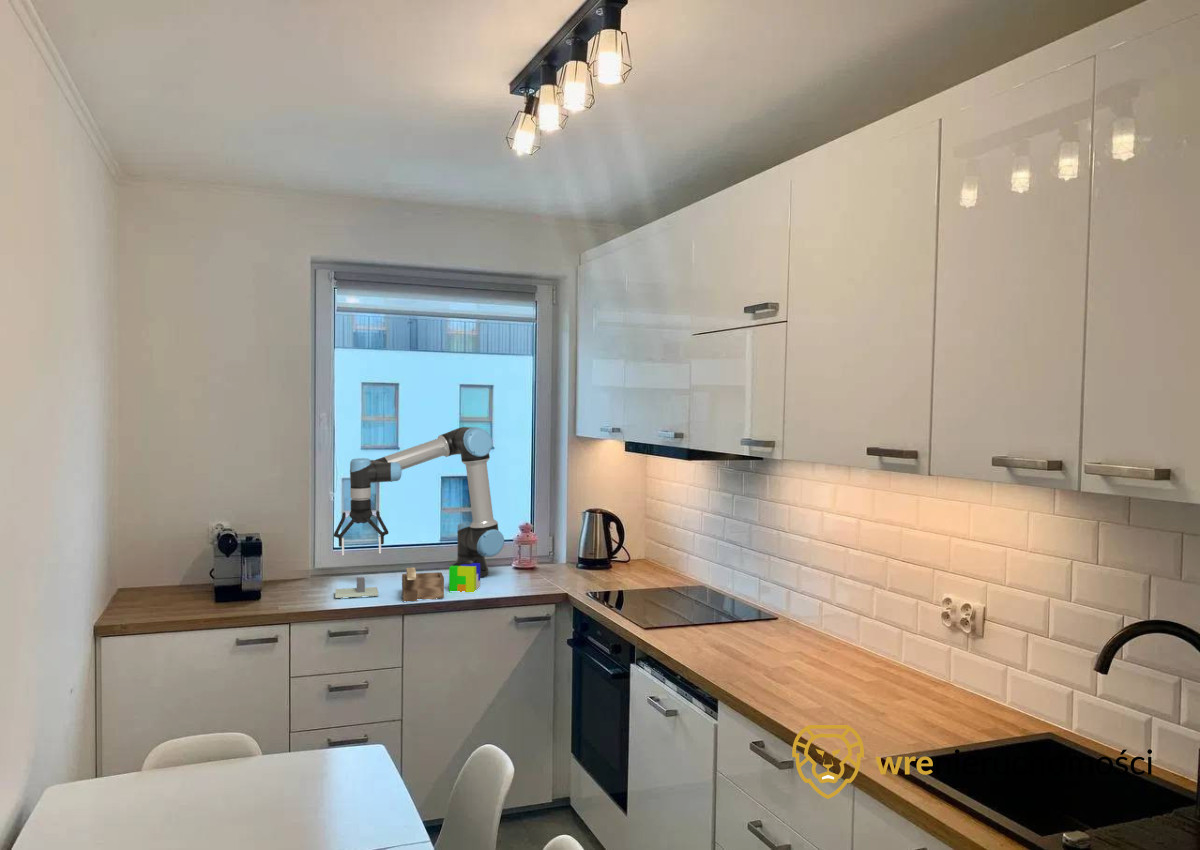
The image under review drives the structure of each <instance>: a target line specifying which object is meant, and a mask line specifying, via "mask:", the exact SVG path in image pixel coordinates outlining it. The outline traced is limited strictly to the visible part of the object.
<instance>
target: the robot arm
mask: <svg viewBox="0 0 1200 850" xmlns="http://www.w3.org/2000/svg"><path fill="white" fill-rule="evenodd" d="M492 448H493V439H492V436H491V434H490V433H489V432H488V431H487V430H486V429H484V428H481V427H478V426H475V427H474V426H473V427H472V426H471V427H469V426H468V427H467V426H462V427H458V428H455V429H453V430H450V431H448V432H446V433H442V434H439V435H438V436H437V438H435V439H433V440H429V441H427V442H424V443H420V444H418V445H414V446H412V447H409V448H406V449H403V450H400V451H397V452H394V453H391V454H388V455H384V456H383V457H380V458H377V459H370V458H365V457H364V458H363V457H361V458H353V459H351V460H350V465H349V478H350V479H349V480H350V489H349V490H350V493H349V494H350V495H349V497H350V499H351V500H350V512H346V511H343V512H341V513H342V514H341V518H340V521H339V523H338V525H337V527H336V528H335V530H334V533H333V537H334V538H337V539H338V546H339V547H341V556H345V537H344V535H345V534H346V533H347V532H348V530H350V528H351V527H352V526H353V525H354V524H358V525H359V524H366V523H368V524H369V525H370V526H371V527H372V528H373V529H374V530H375V531H376V532H377V534H379V535H378V554H382V545H384V543H385V536H386V535H389V533H390V532H389V530H388V528H387V527H386V524H385V523H384V521H383V519H382V517H381V515H380V510H375V511H373V510H372V500H371V499H370V498H371V497H372V491H371V490H372V488H371V487H372V486H371V484H372V483H374V484H375V483H387V482H388V483H389V482H392V483H393V482H398V481H400V480H401V478H402V475H403V474H402V473H403V472H402V471H404V470H406V469H409V468H411V467H414V466H418V465H421V464H422V463H426V462H428V461H432V460H434V459H437V458H440V457H445V458H447V457H450V456H451V457H452V456H456V455H460V458H461V463H462V464H464V465H465V468H466V477H467V483H468V484H467V485H468V491H469V493H468V494H469V499H470V501H469V502H470V509H471V516H472V521H471V522H461V523H458V525H457V532H456V533H457V557H456V561H455V563H480V577H481V578H483V577H482V576H486V577H488V576H489V575H488V574H489V573H490V572H489V566H488V564H487V561H486V558H491V557H494V556H496V555H499V553H500V552H501V551H502V550H503V548H504V545H505V538H504V534H503V533H502V532H501V531H500V530H499V523H498V521H497V520H495V518H494V514H493V511H494V510H493V504H492V497H491V490H490V489H491V487H490V479H489V473H488V464H487V463H488V461H489V460H490V452H491V450H492ZM372 516H374V517H375V518H377V521H378V522H379V524H380V526H381V528H382V530H383V531H382V530H381V528H379V526H377V524H376V523H375V522H374V521H373V520H372V519H371V518H372ZM348 517H350V518H351V520H350V521H349V523H348V524H347V525H346V526H345V527H344V529H343V530H342V531H341V532H340V530H341V528H342V526H343V524H344V522H345V520H346V519H348ZM339 532H340V533H339ZM485 557H486V558H485ZM487 575H488V576H487Z"/></svg>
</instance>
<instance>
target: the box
mask: <svg viewBox="0 0 1200 850" xmlns="http://www.w3.org/2000/svg"><path fill="white" fill-rule="evenodd" d="M401 596H403V597H402V601H403V602H404V601H417V602H418V600H417V599H431V600H439V599H438V598H444V599H445V576H444V574H443V572H420V573H419V572H418V573H417V572H416V580H407V576H406V573H401ZM436 598H437V599H436Z"/></svg>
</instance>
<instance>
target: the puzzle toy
mask: <svg viewBox="0 0 1200 850" xmlns="http://www.w3.org/2000/svg"><path fill="white" fill-rule="evenodd" d="M448 569H449V570H448V576H449V577H448V582H449V583H448V592H449V591H460V592H462V591H465V592H474V591H475V590H477V589H478V588H479V587H480V588H481V578H480V563H456V562H455V563H453V564H452V565H450V566H449V568H448ZM480 588H479V589H480ZM479 589H478V590H479ZM478 590H477V591H478Z"/></svg>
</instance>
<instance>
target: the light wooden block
mask: <svg viewBox="0 0 1200 850" xmlns="http://www.w3.org/2000/svg"><path fill="white" fill-rule="evenodd" d="M405 569H406V573H405V574H406V576H407V580H416V573H417V570H416V567H406V568H405Z"/></svg>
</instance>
